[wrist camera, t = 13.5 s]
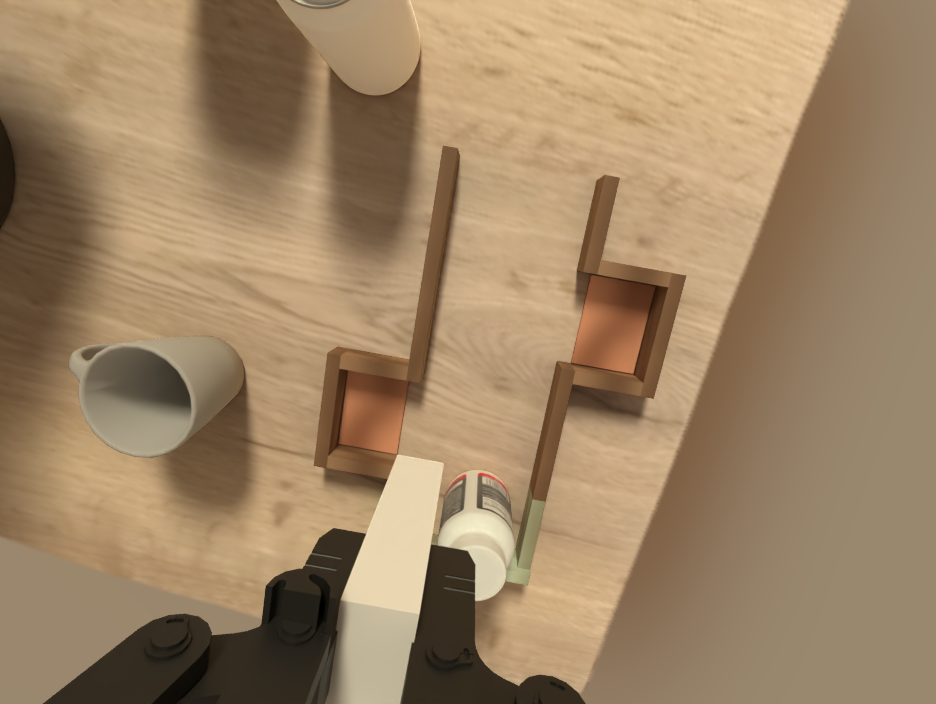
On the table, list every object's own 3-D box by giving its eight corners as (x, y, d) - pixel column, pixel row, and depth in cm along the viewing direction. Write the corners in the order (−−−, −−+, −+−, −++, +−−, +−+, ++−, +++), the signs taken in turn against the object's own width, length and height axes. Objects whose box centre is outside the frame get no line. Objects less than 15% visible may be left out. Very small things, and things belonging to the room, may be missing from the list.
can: (437, 72, 34) (411, -23, 22) (355, 114, 35) (288, 43, 23) (396, -23, 33) (347, -175, 21) (313, 22, 34) (221, -100, 22)
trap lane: (315, 523, 41) (302, 544, 39) (363, 138, 35) (352, 127, 32) (594, 574, 41) (602, 599, 39) (692, 197, 35) (711, 192, 32)
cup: (240, 430, 40) (175, 477, 32) (124, 380, 40) (27, 415, 31) (270, 347, 39) (211, 373, 30) (151, 294, 38) (57, 306, 30)
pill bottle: (454, 533, 41) (444, 618, 32) (437, 475, 40) (422, 545, 31) (517, 520, 41) (526, 602, 31) (501, 461, 40) (506, 527, 30)
